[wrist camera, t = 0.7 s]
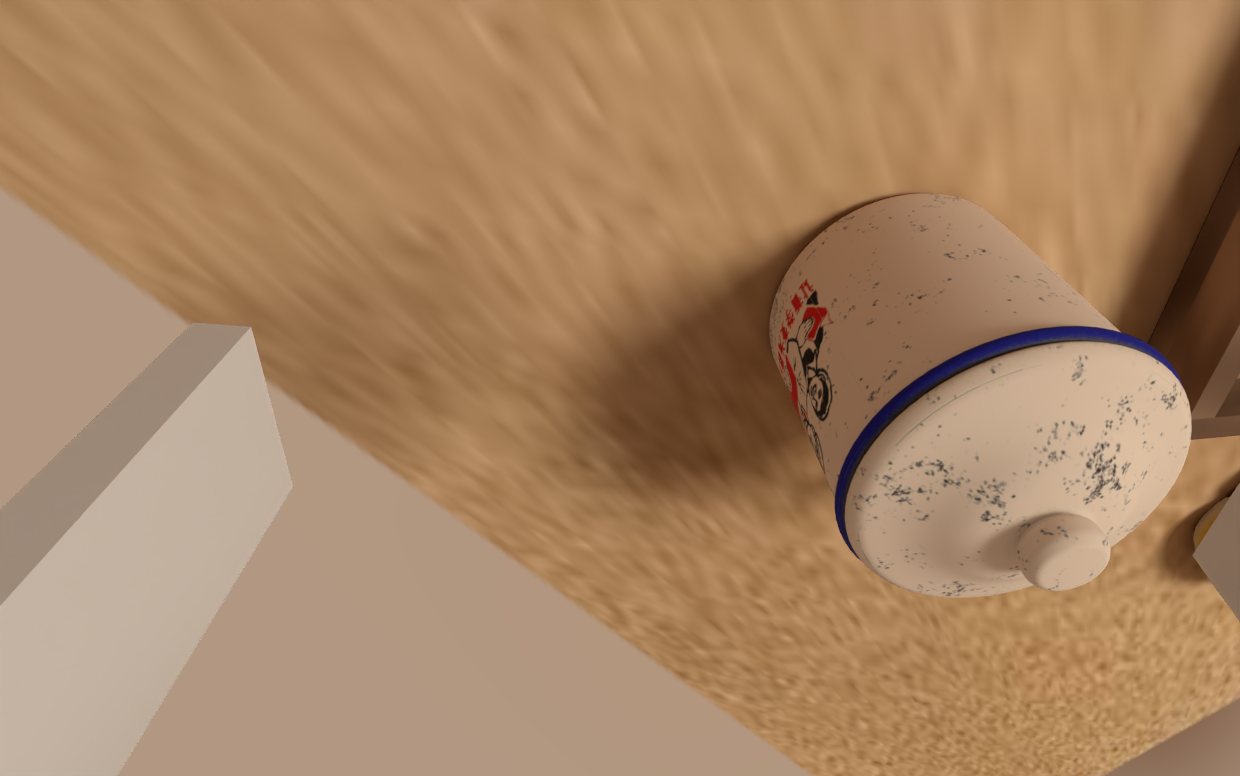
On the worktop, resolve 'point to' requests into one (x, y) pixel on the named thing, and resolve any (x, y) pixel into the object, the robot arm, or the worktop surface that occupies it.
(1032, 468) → the teacup with lid
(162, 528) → the robot arm
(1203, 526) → the bread roll
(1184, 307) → the parts tray
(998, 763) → the worktop surface
